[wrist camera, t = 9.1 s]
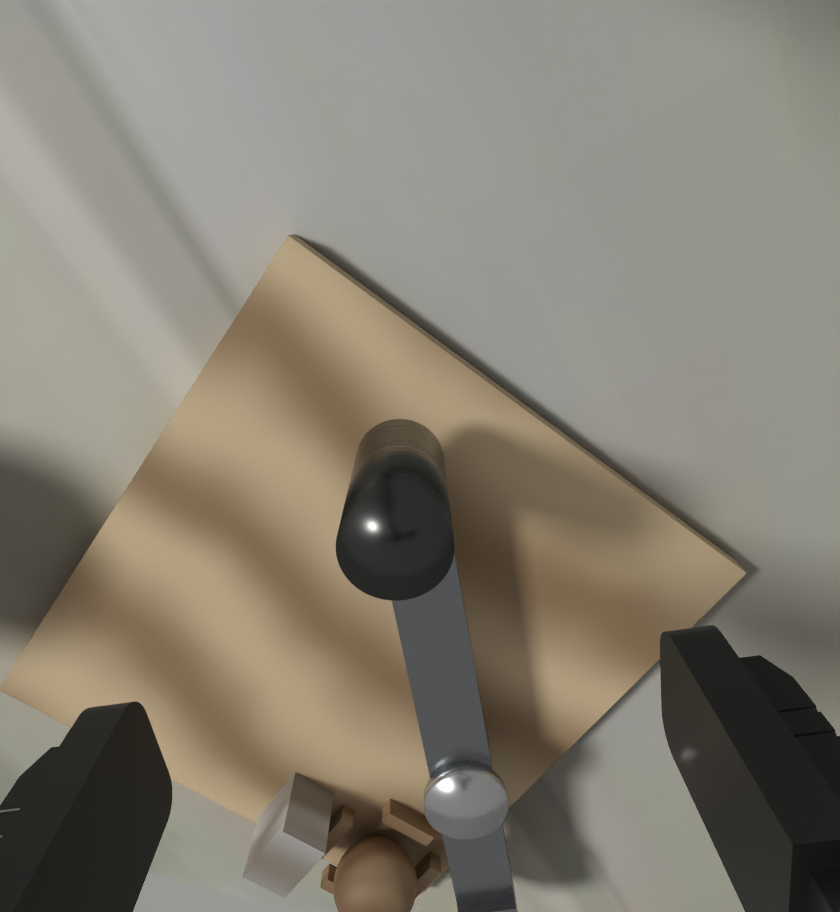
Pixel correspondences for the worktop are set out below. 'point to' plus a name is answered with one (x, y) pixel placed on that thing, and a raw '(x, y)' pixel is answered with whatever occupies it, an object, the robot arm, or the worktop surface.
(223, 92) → the worktop surface
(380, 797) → the press base
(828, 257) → the worktop surface
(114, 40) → the worktop surface
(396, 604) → the lever
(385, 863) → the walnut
